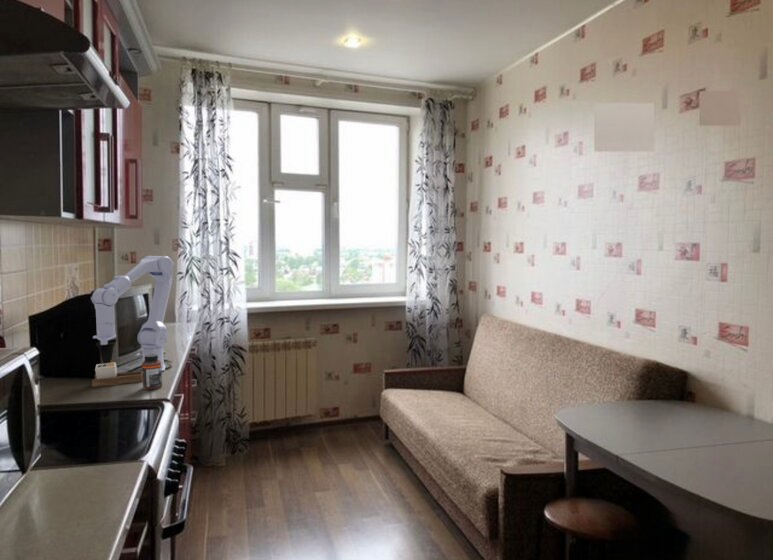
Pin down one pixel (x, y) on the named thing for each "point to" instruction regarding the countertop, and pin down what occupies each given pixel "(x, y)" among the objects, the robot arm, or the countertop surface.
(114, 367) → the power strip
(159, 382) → the supplement bottle
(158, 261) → the robot arm
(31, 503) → the countertop surface
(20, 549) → the countertop surface
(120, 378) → the brown wooden frame
